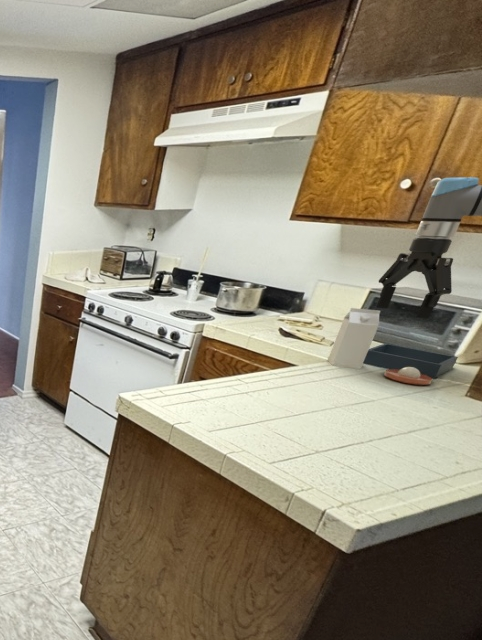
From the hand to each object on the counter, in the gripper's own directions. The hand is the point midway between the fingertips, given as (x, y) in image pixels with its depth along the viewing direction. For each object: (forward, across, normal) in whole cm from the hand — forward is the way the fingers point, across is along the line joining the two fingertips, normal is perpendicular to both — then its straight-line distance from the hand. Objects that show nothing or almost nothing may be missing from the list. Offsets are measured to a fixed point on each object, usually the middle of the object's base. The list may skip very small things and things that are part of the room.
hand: (401, 312), depth 139 cm
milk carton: (+20, -11, -1) cm, 23 cm away
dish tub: (+20, -11, +18) cm, 29 cm away
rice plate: (+20, +4, +6) cm, 21 cm away
